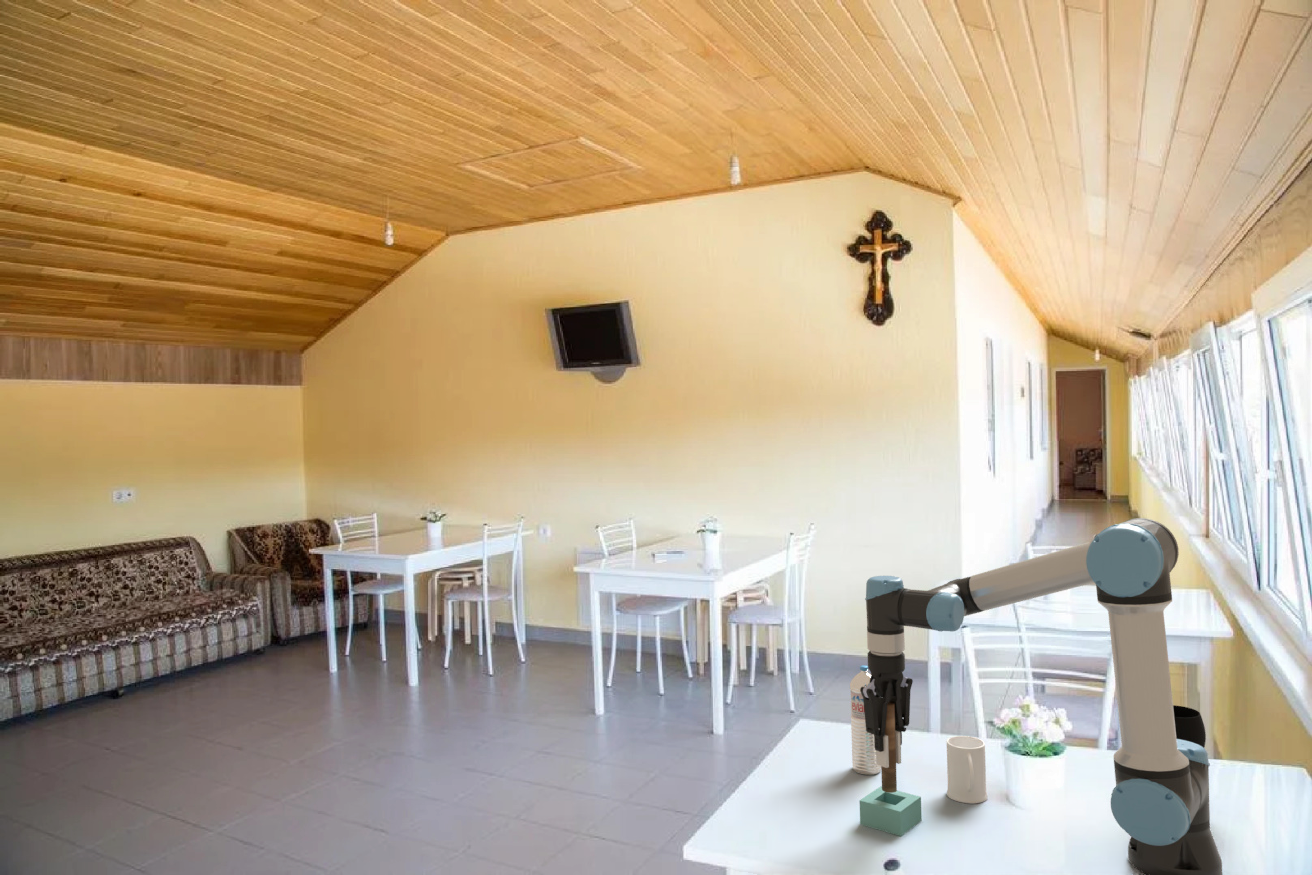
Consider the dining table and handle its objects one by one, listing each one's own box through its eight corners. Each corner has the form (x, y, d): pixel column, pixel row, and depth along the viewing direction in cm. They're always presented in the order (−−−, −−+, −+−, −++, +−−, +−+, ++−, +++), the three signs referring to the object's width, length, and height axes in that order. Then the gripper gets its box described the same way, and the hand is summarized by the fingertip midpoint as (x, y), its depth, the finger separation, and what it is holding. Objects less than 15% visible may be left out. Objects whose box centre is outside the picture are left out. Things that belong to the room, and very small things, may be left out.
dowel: (899, 790, 192) (897, 704, 192) (889, 793, 190) (887, 707, 190) (888, 785, 194) (886, 700, 194) (878, 789, 193) (876, 703, 192)
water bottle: (846, 768, 223) (843, 665, 222) (869, 762, 226) (866, 661, 225) (864, 777, 216) (861, 671, 216) (887, 772, 219) (884, 667, 219)
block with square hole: (921, 820, 193) (920, 796, 193) (901, 836, 186) (900, 811, 186) (881, 809, 199) (880, 786, 199) (860, 824, 192) (859, 800, 192)
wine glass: (1151, 810, 194) (1149, 715, 194) (1150, 791, 203) (1148, 701, 203) (1208, 818, 189) (1206, 721, 189) (1205, 799, 198) (1203, 706, 198)
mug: (990, 811, 196) (988, 755, 196) (948, 808, 198) (946, 752, 198) (985, 789, 207) (984, 736, 207) (946, 786, 210) (944, 734, 209)
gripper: (898, 641, 199) (901, 749, 200) (845, 654, 191) (848, 767, 191) (926, 648, 193) (929, 760, 194) (872, 661, 184) (875, 778, 185)
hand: (888, 763), depth 192 cm, fingers closed on dowel, 3 cm apart
